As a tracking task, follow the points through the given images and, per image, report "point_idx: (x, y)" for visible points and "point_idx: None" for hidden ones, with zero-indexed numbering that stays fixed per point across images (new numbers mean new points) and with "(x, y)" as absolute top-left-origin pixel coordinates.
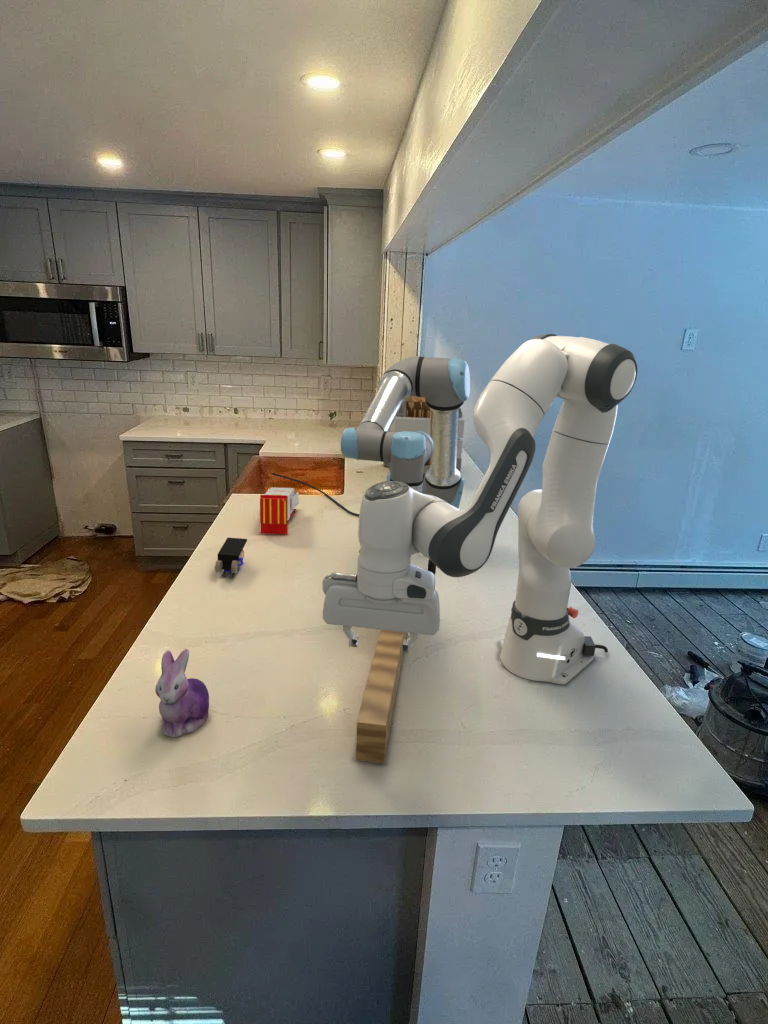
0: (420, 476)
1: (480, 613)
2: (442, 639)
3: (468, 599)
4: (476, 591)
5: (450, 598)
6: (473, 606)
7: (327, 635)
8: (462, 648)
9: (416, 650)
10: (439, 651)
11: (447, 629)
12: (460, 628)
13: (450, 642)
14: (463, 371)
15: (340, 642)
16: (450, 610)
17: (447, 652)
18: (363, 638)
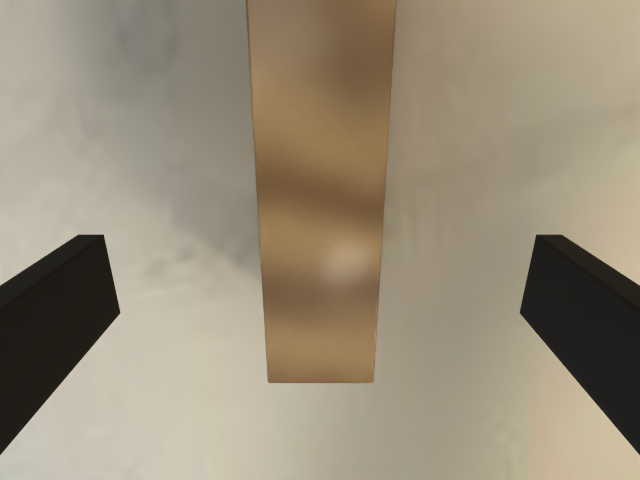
0: None
1: None
2: (119, 128)
3: (84, 423)
4: (69, 474)
5: (149, 419)
6: None
7: (624, 57)
8: (19, 71)
9: (213, 9)
10: (110, 23)
11: (115, 210)
12: (66, 228)
13: (80, 111)
14: None
15: (565, 6)
16: (132, 344)
17: (74, 22)
18: (459, 65)
